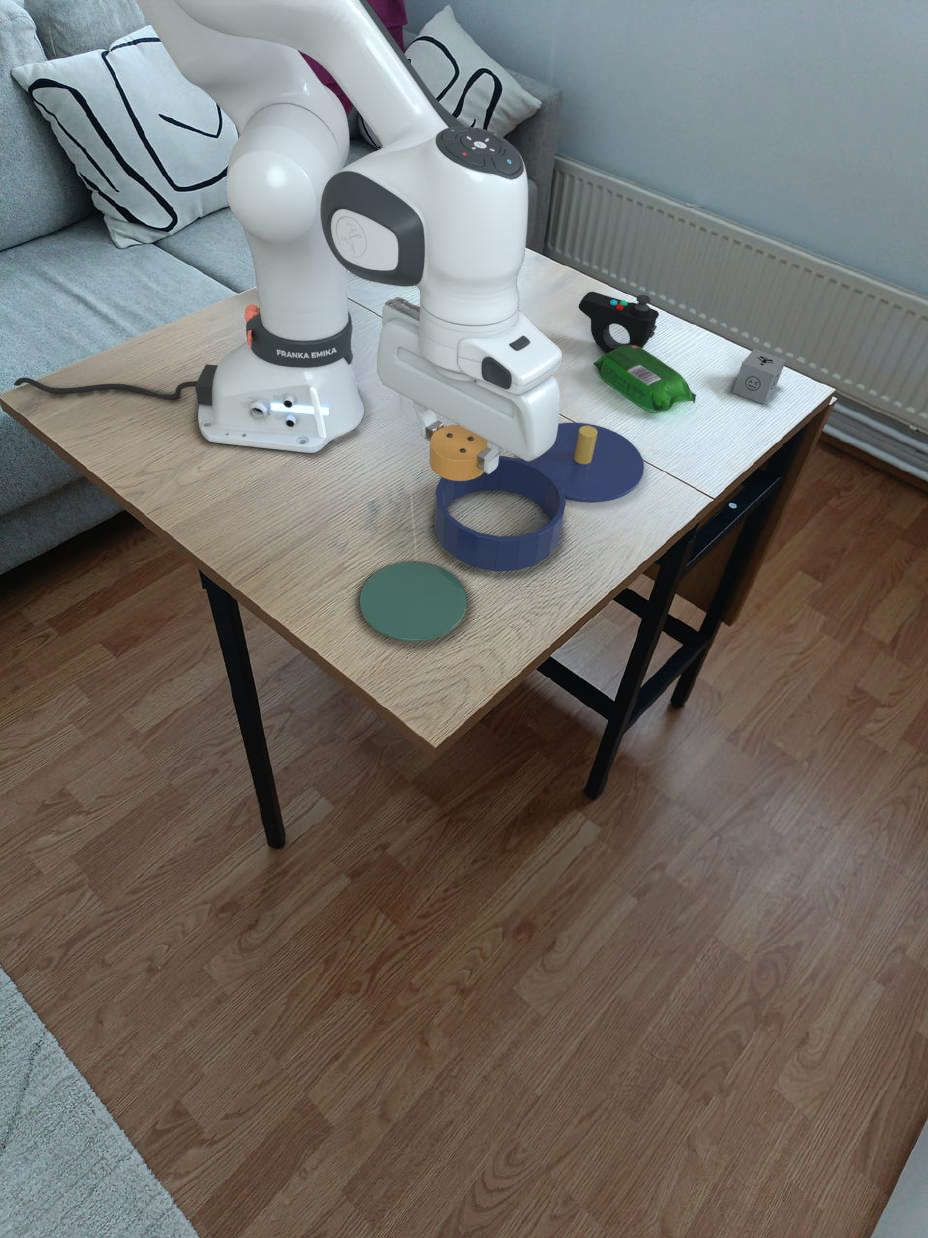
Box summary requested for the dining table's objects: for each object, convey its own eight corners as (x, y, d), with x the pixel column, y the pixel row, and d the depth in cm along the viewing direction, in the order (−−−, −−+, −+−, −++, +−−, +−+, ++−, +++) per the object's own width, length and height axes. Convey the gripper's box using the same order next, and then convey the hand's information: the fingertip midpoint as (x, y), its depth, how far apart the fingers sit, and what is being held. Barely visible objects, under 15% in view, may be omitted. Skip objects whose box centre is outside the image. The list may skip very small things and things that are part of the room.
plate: (360, 646, 94) (360, 641, 93) (359, 567, 102) (359, 562, 101) (471, 642, 95) (471, 637, 95) (461, 565, 103) (461, 560, 103)
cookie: (431, 481, 88) (432, 459, 86) (427, 445, 92) (428, 422, 90) (490, 480, 89) (492, 458, 87) (483, 444, 93) (485, 422, 91)
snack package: (658, 429, 124) (667, 398, 120) (587, 375, 132) (593, 344, 128) (693, 415, 127) (703, 384, 123) (621, 363, 135) (628, 332, 131)
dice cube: (775, 389, 133) (786, 360, 129) (763, 404, 130) (774, 374, 126) (744, 377, 135) (754, 348, 131) (732, 392, 132) (742, 362, 128)
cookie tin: (439, 576, 102) (441, 541, 98) (430, 490, 112) (431, 456, 108) (568, 572, 103) (575, 538, 99) (548, 489, 114) (554, 454, 110)
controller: (641, 369, 134) (655, 309, 127) (569, 345, 138) (579, 284, 130) (651, 357, 137) (666, 297, 129) (580, 333, 140) (590, 273, 133)
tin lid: (530, 507, 111) (535, 471, 107) (513, 429, 122) (517, 394, 118) (655, 505, 113) (665, 469, 109) (627, 428, 124) (635, 394, 119)
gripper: (360, 301, 82) (364, 424, 92) (536, 388, 74) (519, 512, 84) (405, 279, 85) (404, 399, 95) (578, 359, 77) (556, 481, 88)
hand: (459, 453), depth 90 cm, fingers closed on cookie, 6 cm apart
